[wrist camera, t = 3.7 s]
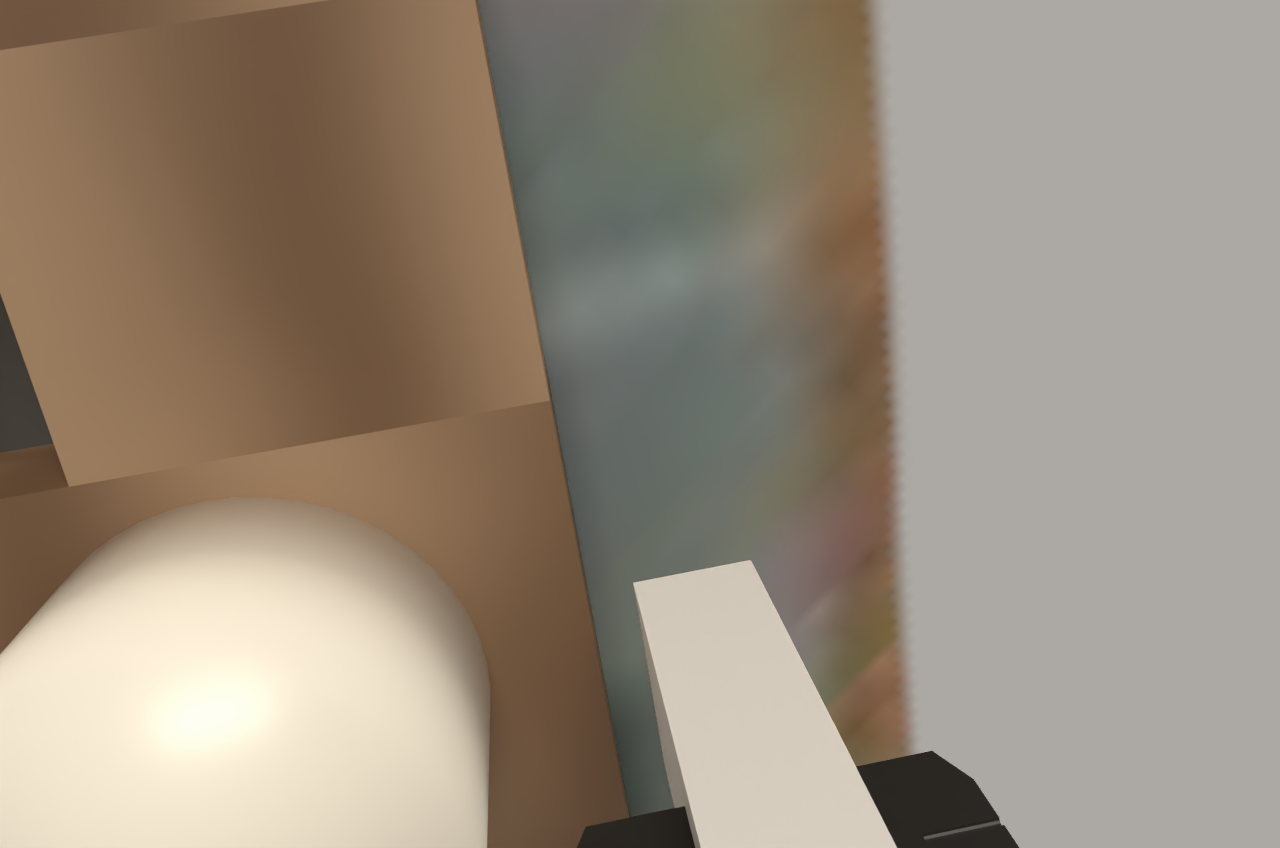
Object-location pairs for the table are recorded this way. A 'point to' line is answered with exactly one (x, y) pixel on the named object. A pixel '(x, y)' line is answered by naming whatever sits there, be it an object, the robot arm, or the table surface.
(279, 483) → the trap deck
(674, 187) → the table surface
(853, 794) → the robot arm
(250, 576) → the white rounded block
